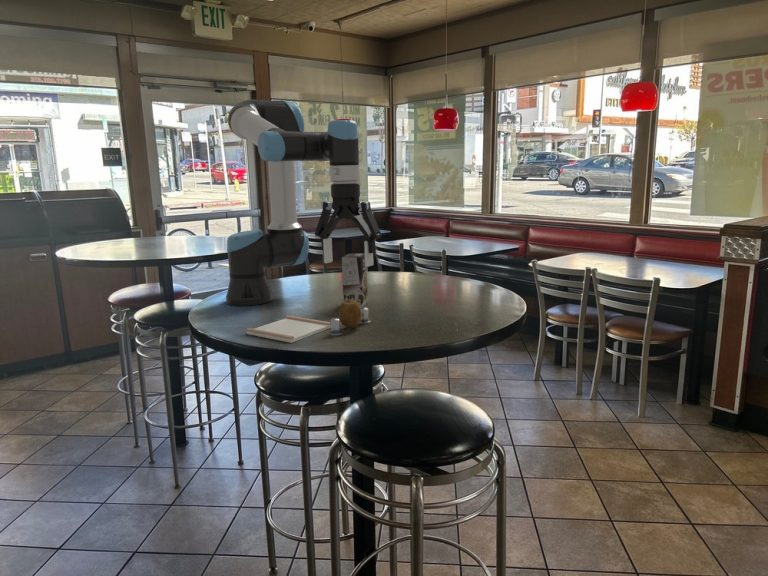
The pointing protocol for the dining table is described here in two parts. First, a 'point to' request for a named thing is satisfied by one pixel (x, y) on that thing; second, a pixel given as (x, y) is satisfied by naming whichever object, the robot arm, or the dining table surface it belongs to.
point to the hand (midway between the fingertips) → (348, 264)
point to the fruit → (350, 313)
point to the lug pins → (336, 322)
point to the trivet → (290, 329)
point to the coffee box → (355, 278)
